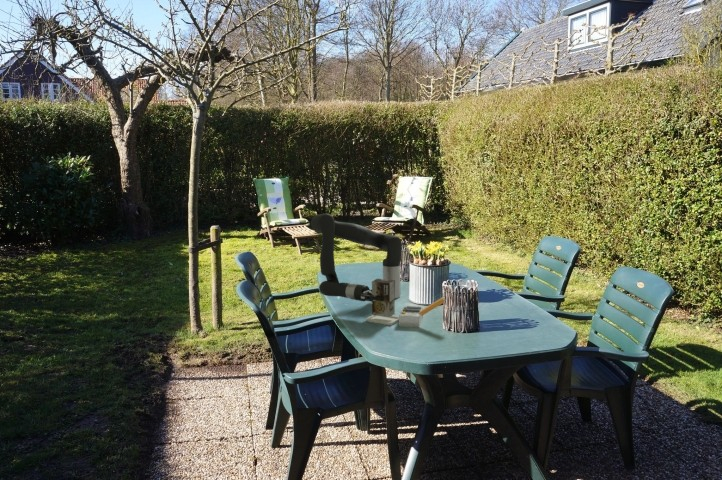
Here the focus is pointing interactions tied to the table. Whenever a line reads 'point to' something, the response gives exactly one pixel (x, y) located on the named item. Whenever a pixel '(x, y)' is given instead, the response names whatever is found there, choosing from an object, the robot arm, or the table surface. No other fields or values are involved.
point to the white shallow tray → (383, 319)
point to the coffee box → (388, 292)
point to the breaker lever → (432, 306)
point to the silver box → (410, 316)
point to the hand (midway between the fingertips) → (387, 297)
